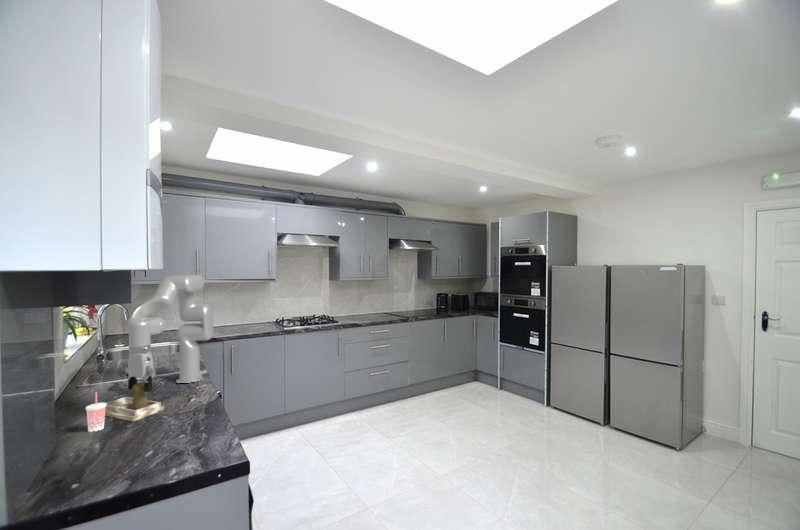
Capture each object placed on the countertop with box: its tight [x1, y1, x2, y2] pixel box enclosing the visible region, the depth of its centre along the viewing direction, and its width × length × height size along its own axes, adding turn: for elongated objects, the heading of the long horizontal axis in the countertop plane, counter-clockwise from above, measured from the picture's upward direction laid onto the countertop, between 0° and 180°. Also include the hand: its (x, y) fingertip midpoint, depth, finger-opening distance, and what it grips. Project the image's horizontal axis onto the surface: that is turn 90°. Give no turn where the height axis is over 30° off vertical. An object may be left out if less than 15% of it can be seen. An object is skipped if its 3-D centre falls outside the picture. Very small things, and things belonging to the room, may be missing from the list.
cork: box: [131, 382, 148, 410], centre depth 151 cm, size 6×6×11 cm
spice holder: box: [105, 396, 165, 422], centre depth 153 cm, size 13×24×4 cm, turn 69°
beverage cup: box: [85, 392, 107, 433], centre depth 136 cm, size 6×6×14 cm
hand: (140, 390), depth 152 cm, fingers open, 9 cm apart
